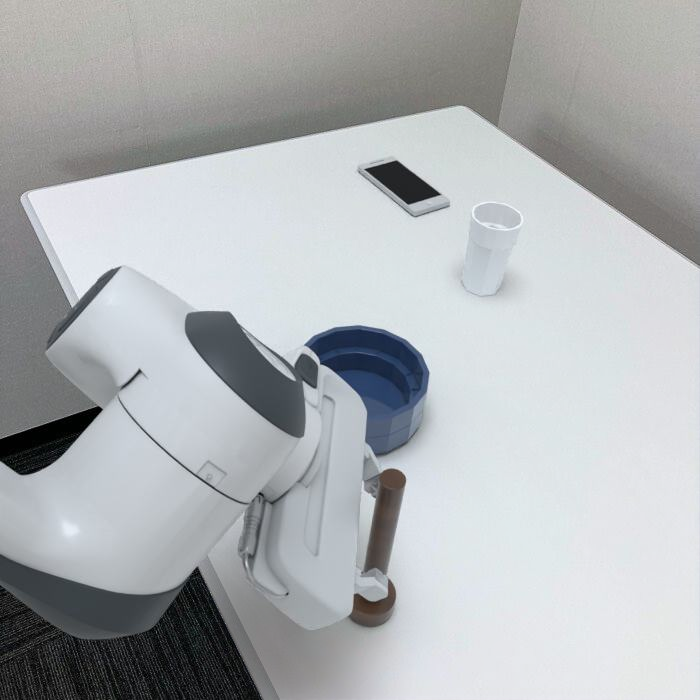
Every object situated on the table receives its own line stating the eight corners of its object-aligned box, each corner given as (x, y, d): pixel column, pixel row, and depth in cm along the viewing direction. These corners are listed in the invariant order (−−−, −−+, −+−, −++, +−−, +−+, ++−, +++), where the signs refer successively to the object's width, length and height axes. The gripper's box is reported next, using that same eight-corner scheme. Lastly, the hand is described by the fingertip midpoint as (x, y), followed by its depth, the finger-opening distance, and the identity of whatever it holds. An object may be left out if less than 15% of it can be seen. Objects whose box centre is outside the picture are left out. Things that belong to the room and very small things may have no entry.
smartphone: (414, 216, 116) (415, 211, 116) (356, 169, 125) (357, 164, 125) (450, 205, 120) (451, 200, 119) (391, 160, 129) (392, 155, 128)
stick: (363, 636, 67) (387, 513, 55) (334, 597, 69) (351, 470, 57) (403, 610, 69) (434, 486, 57) (374, 573, 71) (398, 447, 59)
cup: (481, 264, 109) (497, 196, 101) (514, 289, 105) (534, 221, 98) (446, 278, 106) (460, 210, 98) (479, 305, 102) (496, 236, 95)
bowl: (340, 479, 79) (345, 440, 75) (268, 392, 87) (268, 353, 83) (447, 424, 86) (456, 386, 82) (370, 348, 94) (375, 310, 90)
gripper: (271, 555, 46) (414, 652, 52) (309, 330, 61) (416, 427, 67) (199, 588, 49) (343, 675, 55) (252, 366, 64) (360, 455, 70)
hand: (383, 537), depth 61 cm, fingers open, 8 cm apart
